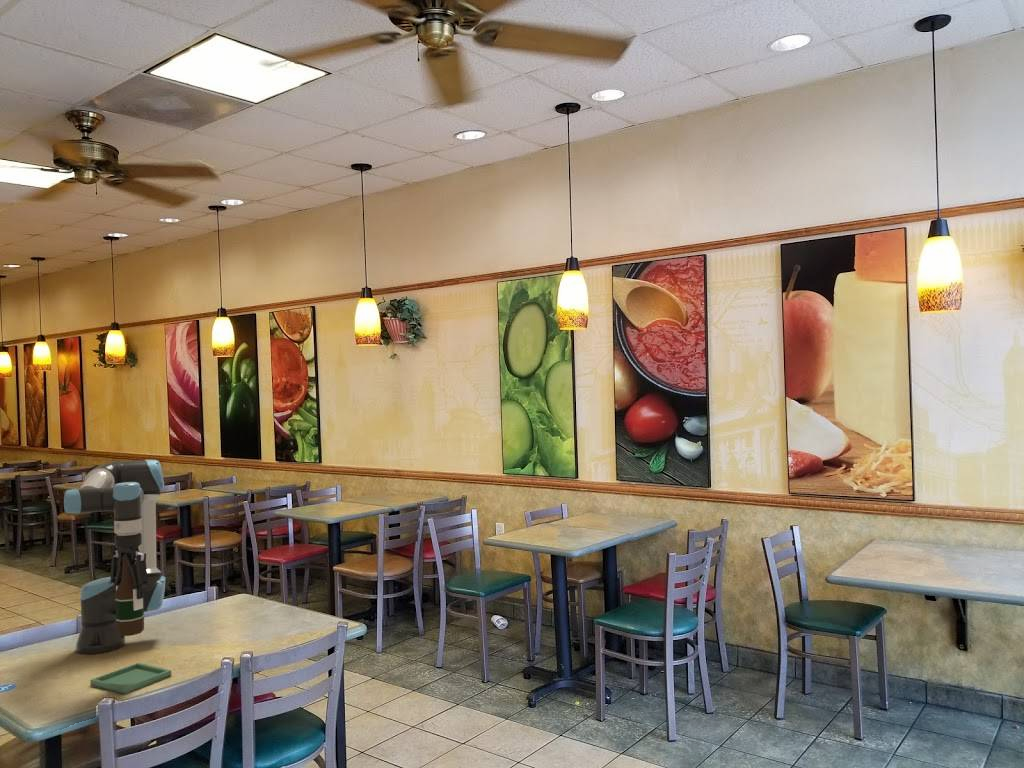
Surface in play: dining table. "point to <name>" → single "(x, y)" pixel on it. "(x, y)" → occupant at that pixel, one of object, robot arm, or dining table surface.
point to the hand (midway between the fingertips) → (129, 607)
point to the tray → (130, 678)
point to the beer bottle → (127, 606)
